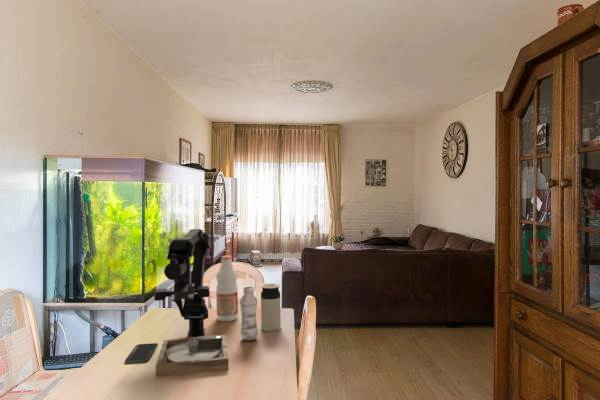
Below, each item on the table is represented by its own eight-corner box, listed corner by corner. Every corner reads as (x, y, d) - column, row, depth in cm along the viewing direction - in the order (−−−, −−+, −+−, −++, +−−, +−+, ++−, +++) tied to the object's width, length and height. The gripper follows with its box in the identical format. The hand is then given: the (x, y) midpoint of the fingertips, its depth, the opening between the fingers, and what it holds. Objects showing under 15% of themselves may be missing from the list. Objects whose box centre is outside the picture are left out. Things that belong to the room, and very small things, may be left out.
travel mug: (273, 333, 158) (272, 288, 158) (257, 329, 162) (256, 286, 162) (284, 327, 165) (283, 284, 165) (269, 323, 169) (268, 282, 169)
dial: (164, 368, 124) (164, 353, 123) (168, 347, 141) (167, 333, 141) (222, 361, 128) (222, 346, 128) (219, 341, 146) (219, 328, 145)
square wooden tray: (163, 349, 143) (163, 339, 143) (225, 343, 148) (225, 333, 148) (156, 377, 121) (155, 365, 121) (228, 369, 126) (228, 357, 126)
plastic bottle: (255, 343, 148) (254, 290, 147) (237, 342, 149) (237, 289, 149) (260, 336, 154) (259, 286, 154) (243, 335, 156) (243, 285, 155)
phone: (123, 361, 131) (136, 344, 146) (124, 365, 131) (136, 347, 146) (148, 360, 132) (158, 342, 147) (148, 363, 132) (158, 345, 147)
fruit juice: (212, 318, 178) (211, 256, 177) (230, 313, 184) (229, 253, 183) (224, 323, 171) (223, 258, 170) (242, 318, 177) (241, 256, 177)
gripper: (151, 280, 132) (152, 326, 132) (209, 276, 136) (209, 321, 136) (156, 273, 143) (156, 316, 143) (208, 270, 147) (209, 312, 147)
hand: (183, 316), depth 142 cm, fingers closed
